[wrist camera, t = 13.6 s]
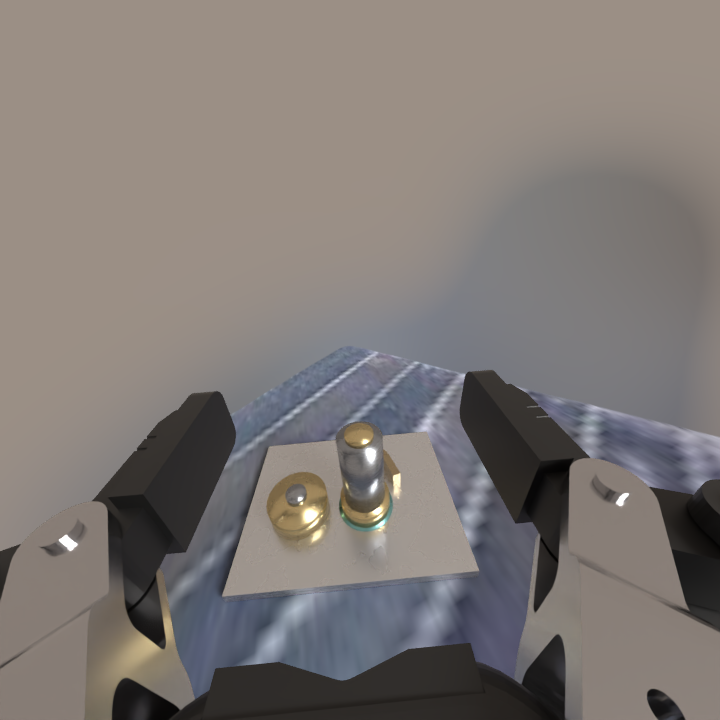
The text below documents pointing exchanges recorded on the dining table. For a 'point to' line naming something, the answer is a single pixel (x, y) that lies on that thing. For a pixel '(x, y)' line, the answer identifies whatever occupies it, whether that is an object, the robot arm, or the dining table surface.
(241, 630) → the dining table surface
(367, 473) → the silver and brass cylinder
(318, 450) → the carrier
